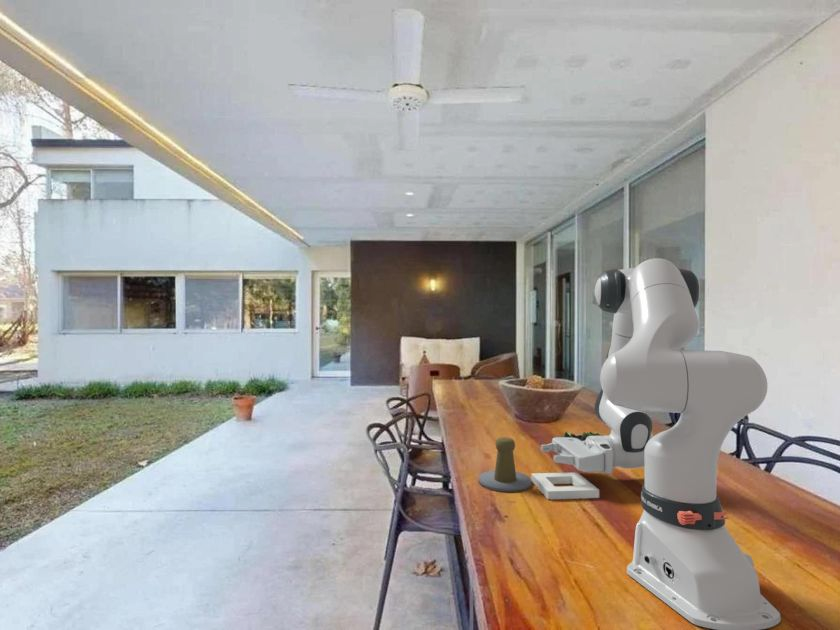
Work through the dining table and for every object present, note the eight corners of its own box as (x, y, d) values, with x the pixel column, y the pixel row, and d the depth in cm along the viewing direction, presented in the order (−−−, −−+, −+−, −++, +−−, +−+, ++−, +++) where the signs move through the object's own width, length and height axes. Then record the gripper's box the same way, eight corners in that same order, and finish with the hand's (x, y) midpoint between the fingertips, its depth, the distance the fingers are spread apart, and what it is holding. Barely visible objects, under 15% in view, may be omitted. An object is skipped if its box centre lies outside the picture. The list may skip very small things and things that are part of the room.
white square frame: (599, 497, 115) (599, 489, 115) (547, 499, 114) (547, 491, 114) (577, 479, 128) (577, 472, 128) (531, 480, 127) (531, 473, 127)
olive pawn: (515, 484, 122) (515, 442, 122) (492, 481, 124) (492, 440, 124) (517, 476, 127) (517, 436, 127) (495, 474, 129) (495, 434, 129)
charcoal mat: (538, 491, 119) (538, 487, 119) (484, 492, 118) (484, 488, 118) (522, 472, 133) (522, 469, 133) (474, 474, 132) (474, 470, 132)
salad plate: (584, 435, 177) (584, 423, 177) (627, 446, 162) (627, 432, 162) (550, 443, 166) (550, 430, 166) (594, 455, 151) (594, 441, 151)
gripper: (580, 431, 138) (535, 432, 137) (614, 451, 118) (561, 452, 117) (580, 452, 138) (535, 453, 137) (614, 476, 118) (561, 477, 117)
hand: (547, 453), depth 127 cm, fingers open, 8 cm apart
